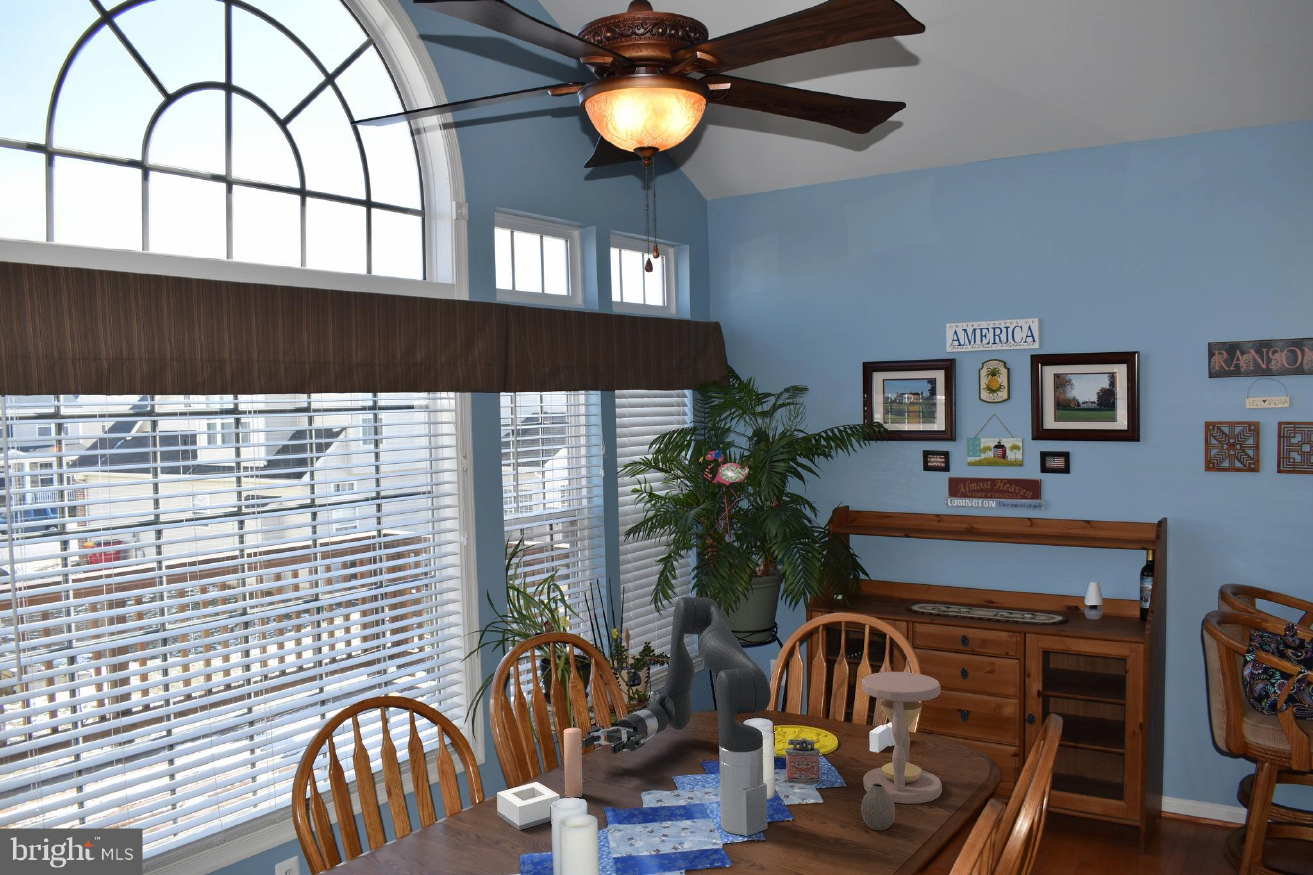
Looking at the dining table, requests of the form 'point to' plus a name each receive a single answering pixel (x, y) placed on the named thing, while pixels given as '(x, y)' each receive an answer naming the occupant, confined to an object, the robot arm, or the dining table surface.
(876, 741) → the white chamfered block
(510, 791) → the bore block
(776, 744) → the decorative medallion
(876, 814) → the vase
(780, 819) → the dining table surface
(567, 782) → the peg
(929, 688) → the hourglass
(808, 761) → the lighter
